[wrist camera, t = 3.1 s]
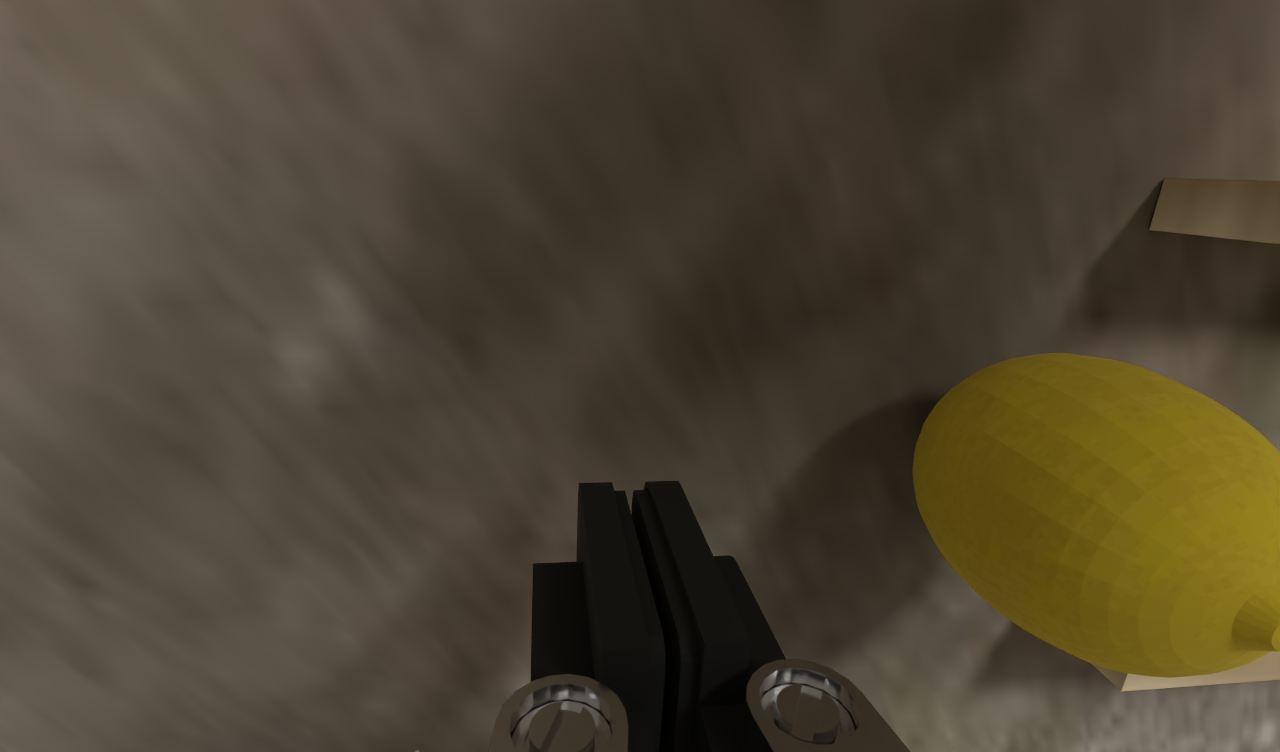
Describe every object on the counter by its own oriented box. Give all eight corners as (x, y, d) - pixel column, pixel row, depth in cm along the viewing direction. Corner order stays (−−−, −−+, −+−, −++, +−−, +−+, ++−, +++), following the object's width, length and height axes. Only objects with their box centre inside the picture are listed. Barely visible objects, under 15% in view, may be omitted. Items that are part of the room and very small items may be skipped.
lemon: (872, 540, 17) (1123, 830, 10) (837, 356, 15) (1112, 539, 8) (1060, 476, 17) (1447, 711, 10) (1047, 286, 16) (1514, 400, 8)
